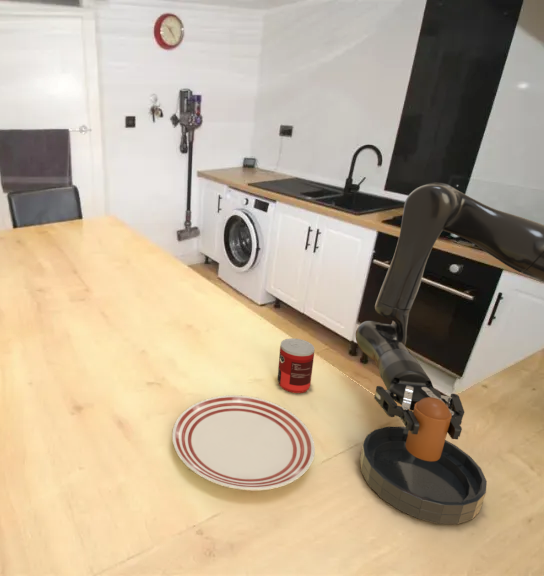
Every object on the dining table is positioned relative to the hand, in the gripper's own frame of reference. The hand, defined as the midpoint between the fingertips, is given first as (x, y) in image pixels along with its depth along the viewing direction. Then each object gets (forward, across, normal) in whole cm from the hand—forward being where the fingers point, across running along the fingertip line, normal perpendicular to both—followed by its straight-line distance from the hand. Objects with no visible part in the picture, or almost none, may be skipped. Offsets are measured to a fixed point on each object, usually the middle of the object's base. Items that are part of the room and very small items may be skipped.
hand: (436, 432), depth 66 cm
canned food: (-30, -19, +13) cm, 37 cm away
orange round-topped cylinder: (-3, 0, +6) cm, 7 cm away
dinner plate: (-5, -31, +13) cm, 34 cm away
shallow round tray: (-2, 0, +13) cm, 13 cm away
